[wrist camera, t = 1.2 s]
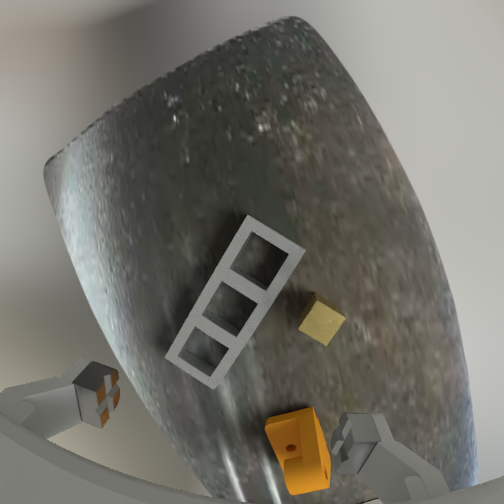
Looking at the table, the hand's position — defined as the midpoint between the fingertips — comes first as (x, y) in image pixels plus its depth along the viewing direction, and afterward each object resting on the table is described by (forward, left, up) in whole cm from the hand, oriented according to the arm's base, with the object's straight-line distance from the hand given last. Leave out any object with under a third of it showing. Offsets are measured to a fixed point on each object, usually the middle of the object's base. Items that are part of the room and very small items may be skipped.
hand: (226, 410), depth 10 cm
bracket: (-16, +19, -31) cm, 39 cm away
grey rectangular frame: (+3, +6, -30) cm, 31 cm away
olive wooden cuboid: (-7, +1, -31) cm, 31 cm away
